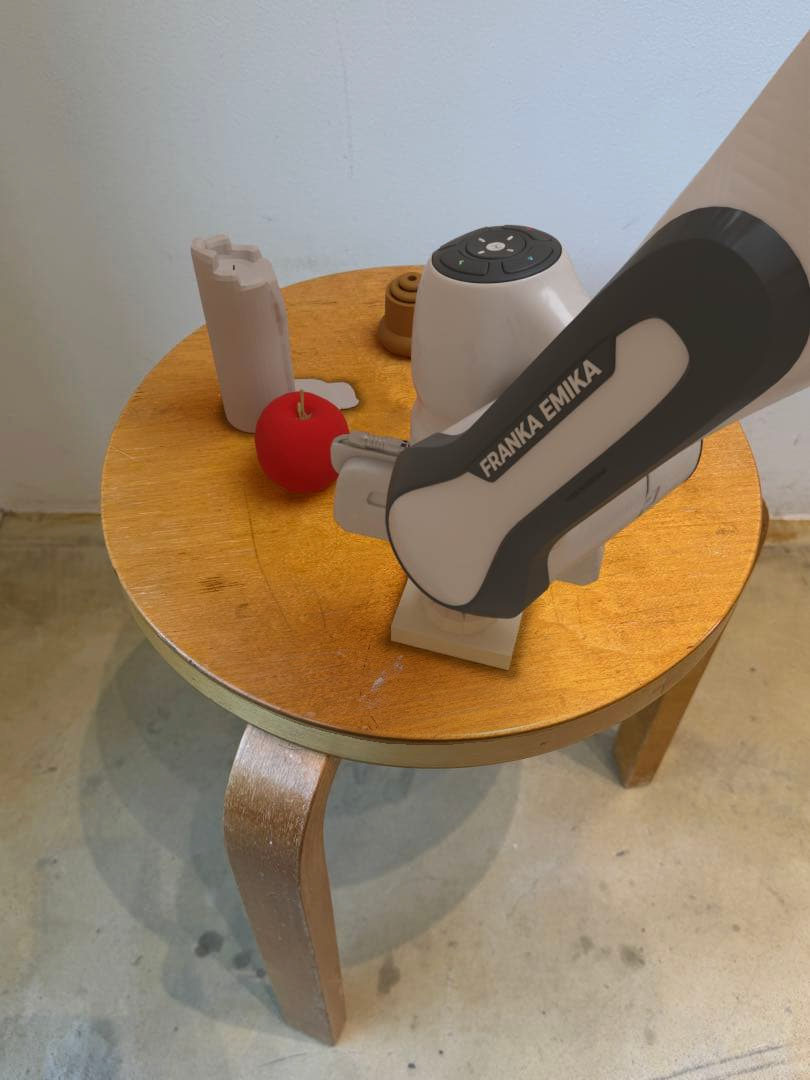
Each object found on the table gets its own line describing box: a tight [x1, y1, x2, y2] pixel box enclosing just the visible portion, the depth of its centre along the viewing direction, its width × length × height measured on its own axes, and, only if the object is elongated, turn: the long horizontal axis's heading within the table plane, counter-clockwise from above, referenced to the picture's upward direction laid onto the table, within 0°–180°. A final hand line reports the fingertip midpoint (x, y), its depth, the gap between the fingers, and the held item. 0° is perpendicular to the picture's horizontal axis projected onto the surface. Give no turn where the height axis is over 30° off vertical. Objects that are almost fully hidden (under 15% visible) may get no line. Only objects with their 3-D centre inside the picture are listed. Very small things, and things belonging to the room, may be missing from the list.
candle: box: [190, 233, 360, 434], centre depth 81 cm, size 7×14×20 cm, turn 105°
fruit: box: [254, 389, 351, 494], centre depth 79 cm, size 9×9×10 cm
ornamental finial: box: [377, 271, 422, 358], centre depth 93 cm, size 8×8×8 cm
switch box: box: [390, 577, 524, 671], centre depth 71 cm, size 10×8×4 cm
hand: (462, 579), depth 68 cm, fingers closed
